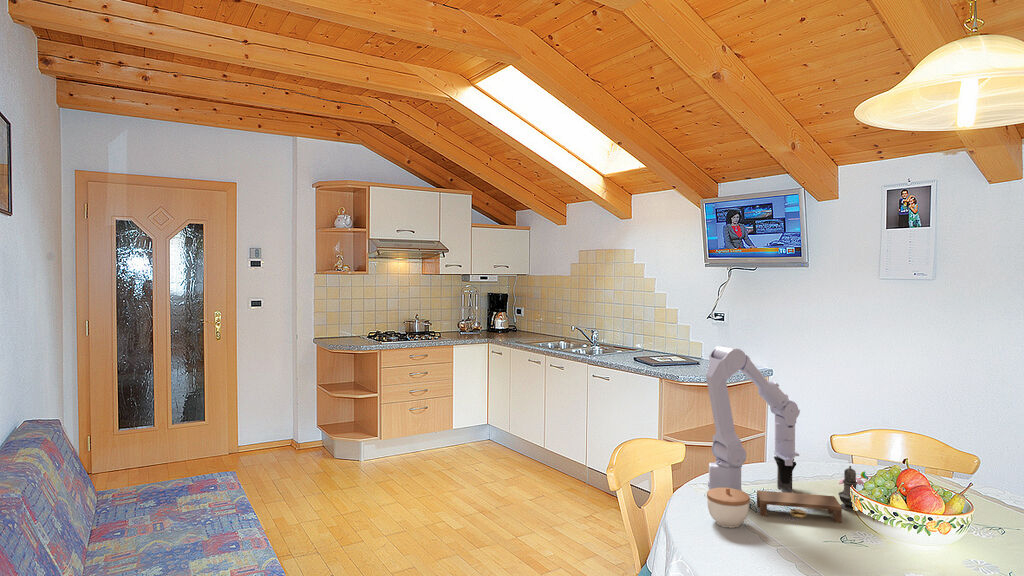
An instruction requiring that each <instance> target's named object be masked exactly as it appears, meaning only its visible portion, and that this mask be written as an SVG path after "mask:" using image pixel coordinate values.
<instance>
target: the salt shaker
mask: <svg viewBox="0 0 1024 576" xmlns="http://www.w3.org/2000/svg"><path fill="white" fill-rule="evenodd" d="M856 478H857V472H856V470H855V469H853V468H852V466H851V465H849V466H848V468H845V469H844V477H843V479H844V480H843V482H844V484H843V485H844V486H843V490H842V491H839V492H838V494H837V495H838V496H839V499H840V500H839V501H841V503H840V505H841V507H842V510H844V511H848V512H854V510H853V507H852V502H851V497H850V487H851V485H853V487H854V488H855V489H856V484H857V482H856Z"/></svg>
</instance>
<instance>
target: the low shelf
mask: <svg viewBox="0 0 1024 576" xmlns="http://www.w3.org/2000/svg"><path fill="white" fill-rule="evenodd" d="M769 505H770V506H779V507H793V508H804V509H805V508H806V509H815V510H827V512H828V514H833V517H832V518H833V522H834V523H837V524H838V523H839V524H841V523H842V520H843V519H842V515H843V514H842V512H843V511H842V510H843V509H842V507H841V503H839V501H838V500H837V498H836V497H835V495H824V494H811V493H810V494H808V493H798V492H797V493H796V492H793V493H786V492H781V491H771V490H770V491H769V490H758V489H757V490H756V507H757V508H759V515H760V517H768V506H769Z"/></svg>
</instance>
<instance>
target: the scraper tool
mask: <svg viewBox="0 0 1024 576" xmlns="http://www.w3.org/2000/svg"><path fill="white" fill-rule="evenodd" d="M776 467H777V468H776V469H777V470H776V471H777V472H776V475H777V477H776V479H777V480H776V483H777V484H776V487H777V489H779V491H780V492H786V493H794V491H793V474H792V475H791V479H790V483H789V484H783V483H782V482H781V478H780V471H779V467H778V465H777V464H776Z"/></svg>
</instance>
